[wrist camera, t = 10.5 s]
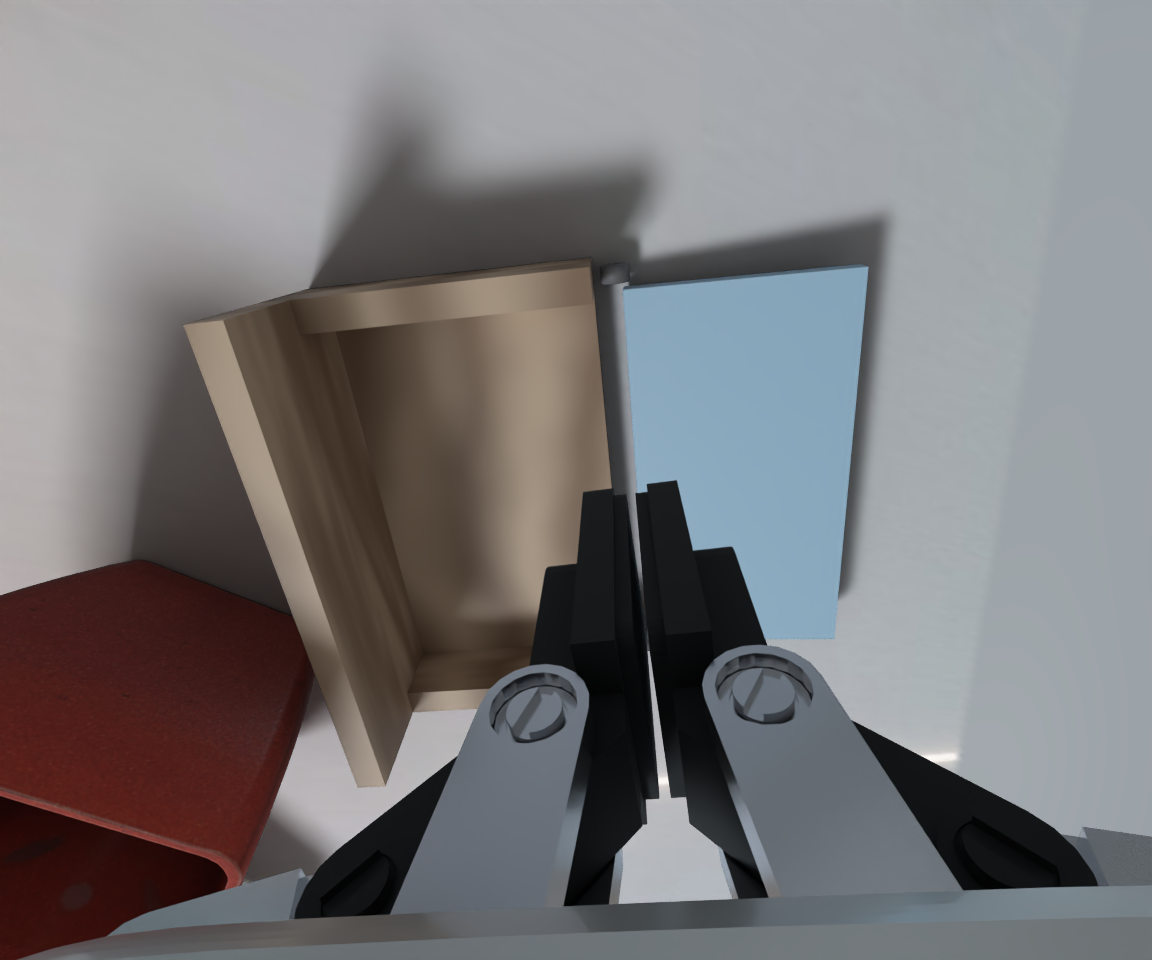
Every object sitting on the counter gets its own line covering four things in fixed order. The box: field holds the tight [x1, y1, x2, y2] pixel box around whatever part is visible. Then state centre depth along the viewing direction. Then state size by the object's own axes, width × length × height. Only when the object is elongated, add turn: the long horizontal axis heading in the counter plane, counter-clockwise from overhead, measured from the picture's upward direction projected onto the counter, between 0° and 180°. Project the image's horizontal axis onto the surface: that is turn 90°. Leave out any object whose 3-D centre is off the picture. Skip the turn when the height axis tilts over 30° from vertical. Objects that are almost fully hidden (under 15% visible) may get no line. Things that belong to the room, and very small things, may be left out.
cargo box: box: [183, 257, 650, 787], centre depth 30 cm, size 16×24×10 cm
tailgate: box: [623, 264, 868, 639], centre depth 32 cm, size 1×21×11 cm
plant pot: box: [0, 560, 315, 960], centre depth 33 cm, size 19×19×17 cm
